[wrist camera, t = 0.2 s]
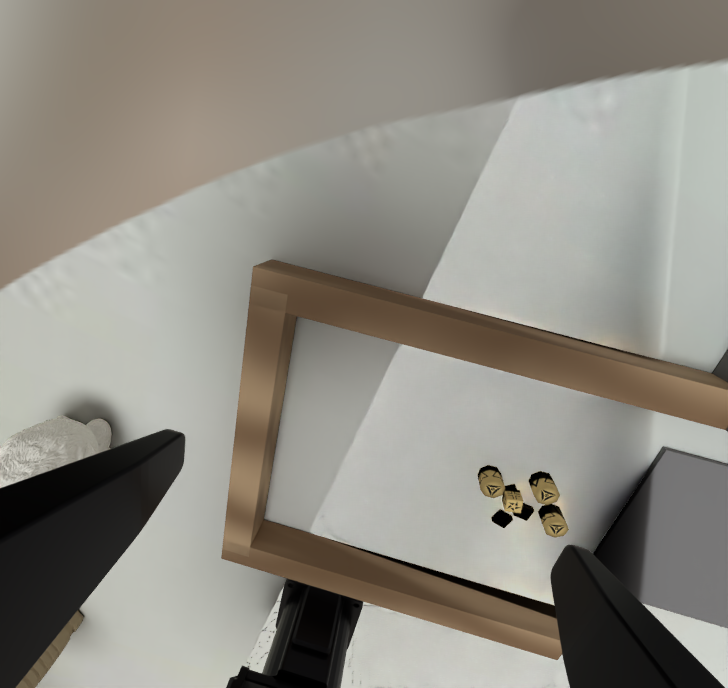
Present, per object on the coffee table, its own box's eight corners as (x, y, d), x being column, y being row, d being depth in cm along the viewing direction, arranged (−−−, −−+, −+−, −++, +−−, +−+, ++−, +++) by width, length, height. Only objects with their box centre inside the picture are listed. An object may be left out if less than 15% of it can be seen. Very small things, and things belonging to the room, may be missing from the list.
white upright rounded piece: (77, 482, 30) (-122, 643, 19) (29, 412, 28) (-224, 548, 17) (160, 464, 28) (-8, 634, 17) (115, 388, 26) (-109, 524, 15)
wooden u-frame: (546, 622, 28) (557, 660, 26) (236, 530, 30) (221, 558, 27) (712, 373, 20) (750, 395, 18) (271, 259, 21) (253, 266, 19)
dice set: (475, 459, 25) (479, 479, 23) (557, 454, 24) (568, 475, 22) (481, 517, 26) (486, 540, 25) (558, 515, 25) (568, 539, 24)
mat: (745, 629, 26) (748, 634, 26) (574, 580, 26) (576, 584, 26) (873, 503, 21) (878, 507, 21) (663, 446, 22) (666, 449, 22)
